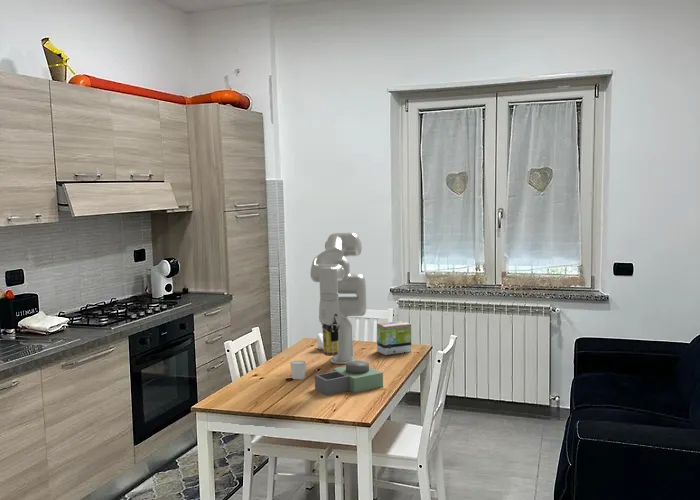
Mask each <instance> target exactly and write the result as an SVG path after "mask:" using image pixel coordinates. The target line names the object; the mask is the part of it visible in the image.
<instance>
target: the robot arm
mask: <svg viewBox="0 0 700 500" xmlns="http://www.w3.org/2000/svg"><path fill="white" fill-rule="evenodd" d="M324 249H325V250H324V251H322V252H320V253H319V254H318V255H316V256H315V257H314V258H313V260H312V262H311V267H310V272H309V273H310V279H311V280H312V282H314V283H319V307H318V310H319V311H318V320H319V323H320V324H321V328H322V330H323V324H326V325H330V326H331V330H332V332H331V341H332V342H333V341H338V354H337V355H335V356H333V357H331V358H330V362H331V363H332V364H334V365H335V364H336V365H346V363H347V362H350V361H357V357H355V356H354V345H353V343H354V342H353V338H354V337H353V324H352V322H351V321H350V320H349V318H348V317H363V316H365V315H366V312H367V286H366V285H367V284H366V279H365V276H364V275H363V274H362V273H351V271H350V267H351V266H350V262H349V260H348V259H347V258H346V257H358V256H360V254H362V249H363V247H362V241H361V238H360V237H359V236H358V234H356V233H355V232H335V233H332V234H329V236H328V237H327V239H326V241H325V243H324ZM339 294H340V295H356V296H339ZM333 323H335V324H333ZM333 326H335V327H334V328H333Z"/></svg>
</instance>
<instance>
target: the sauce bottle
mask: <svg viewBox="0 0 700 500" xmlns="http://www.w3.org/2000/svg"><path fill="white" fill-rule="evenodd" d="M333 324H335V323H333ZM334 327H335V326H333V328H334ZM331 332H332V330H331V326H330V325H326V324H323V329H322V333H323V349H322V350H323V354H324V356H326V357H330V356H333V357H334V356H335V355H337V354H338V341H333V342H332V341H331Z"/></svg>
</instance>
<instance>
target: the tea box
mask: <svg viewBox="0 0 700 500" xmlns="http://www.w3.org/2000/svg"><path fill="white" fill-rule="evenodd" d="M376 351H377V352H379V353H380V354H382V355H384V356H387V355H388V356H389V355H395V354H396V355H397V354H403V353H404V352H405V353H411V352H412V324H411V323H409V322H406V321H404V320H398V321H396V320H395V321H388V322H379V323H378V322H377V323H376ZM410 351H411V352H410ZM405 353H404V354H405Z"/></svg>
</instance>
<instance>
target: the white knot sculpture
mask: <svg viewBox="0 0 700 500" xmlns="http://www.w3.org/2000/svg"><path fill="white" fill-rule="evenodd" d="M316 342H317V343H316V347H317V349H319V350H323V332H322V333H321V332H320V333H319V332H318V334H316Z"/></svg>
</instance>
